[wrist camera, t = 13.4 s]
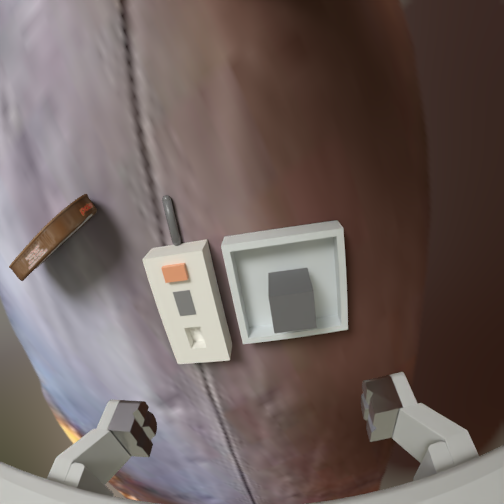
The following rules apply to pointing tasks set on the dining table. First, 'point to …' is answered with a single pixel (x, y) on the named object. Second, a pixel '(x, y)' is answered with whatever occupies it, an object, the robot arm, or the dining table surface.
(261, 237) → the tray
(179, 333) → the power strip
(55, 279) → the dining table surface
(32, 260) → the tin
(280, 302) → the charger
